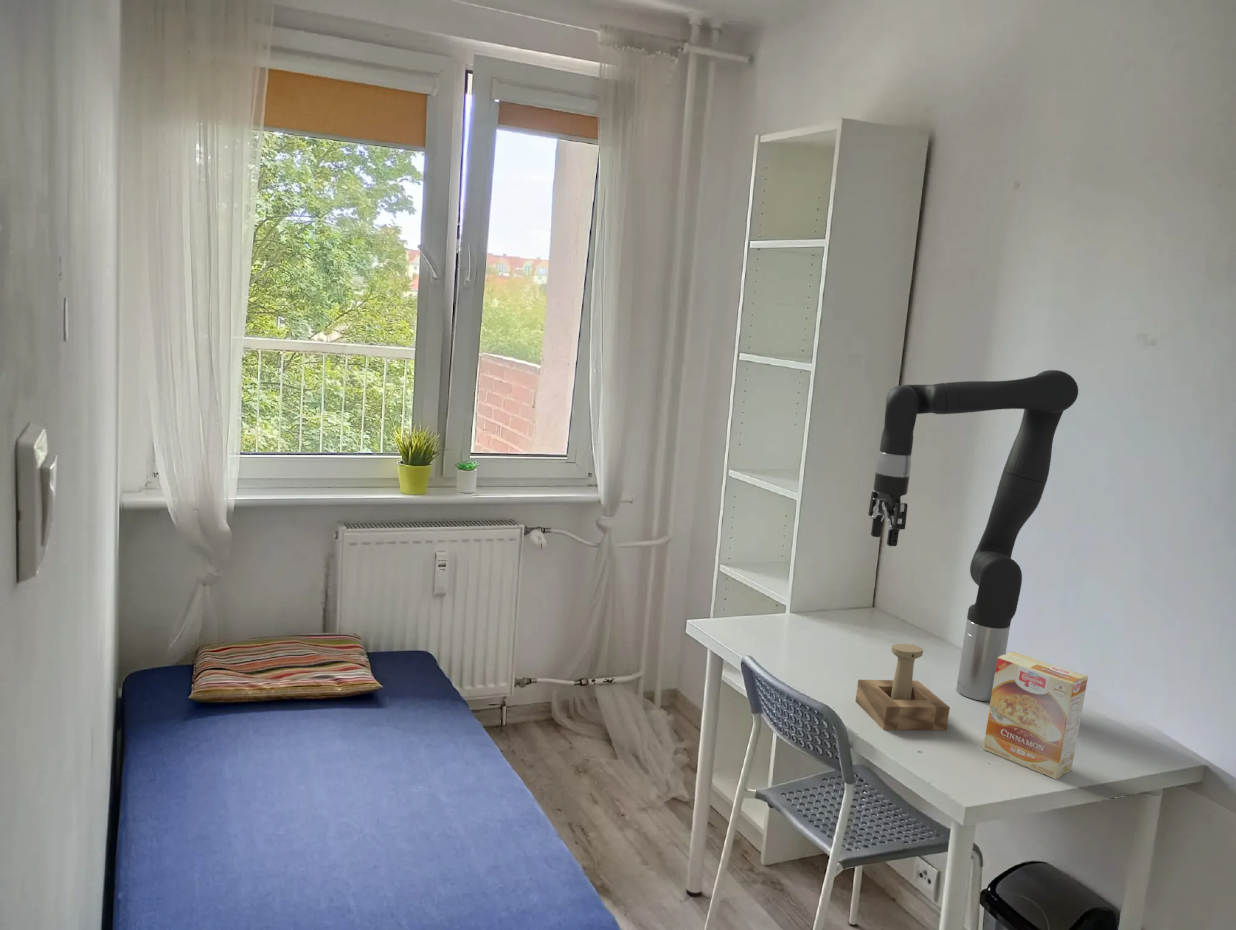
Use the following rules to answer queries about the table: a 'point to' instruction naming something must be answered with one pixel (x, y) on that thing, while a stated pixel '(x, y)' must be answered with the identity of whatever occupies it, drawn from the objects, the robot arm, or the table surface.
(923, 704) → the socket block
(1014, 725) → the coffeecake box
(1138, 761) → the table surface
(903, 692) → the handle
